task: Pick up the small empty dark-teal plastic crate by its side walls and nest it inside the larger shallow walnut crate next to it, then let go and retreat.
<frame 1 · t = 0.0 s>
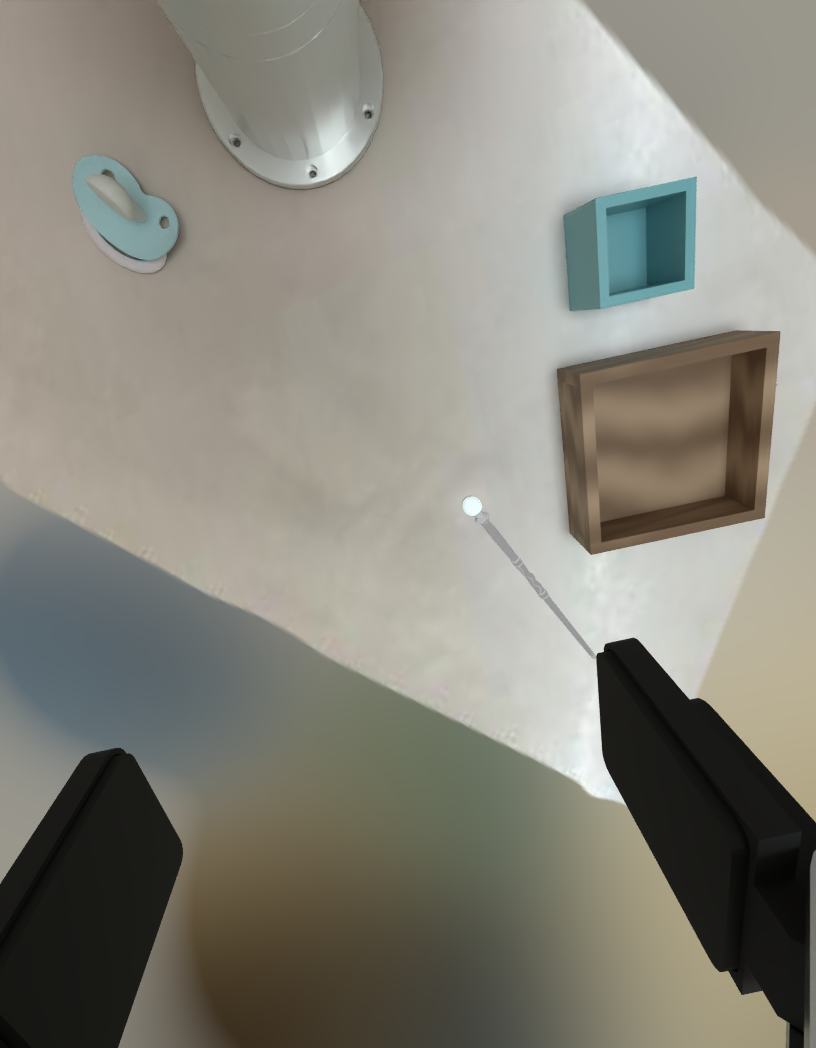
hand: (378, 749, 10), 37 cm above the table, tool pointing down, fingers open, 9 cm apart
small crate: (608, 255, 41), on the table
magic wand: (534, 581, 52), on the table
big crate: (647, 438, 47), on the table
pacifier: (134, 225, 38), on the table
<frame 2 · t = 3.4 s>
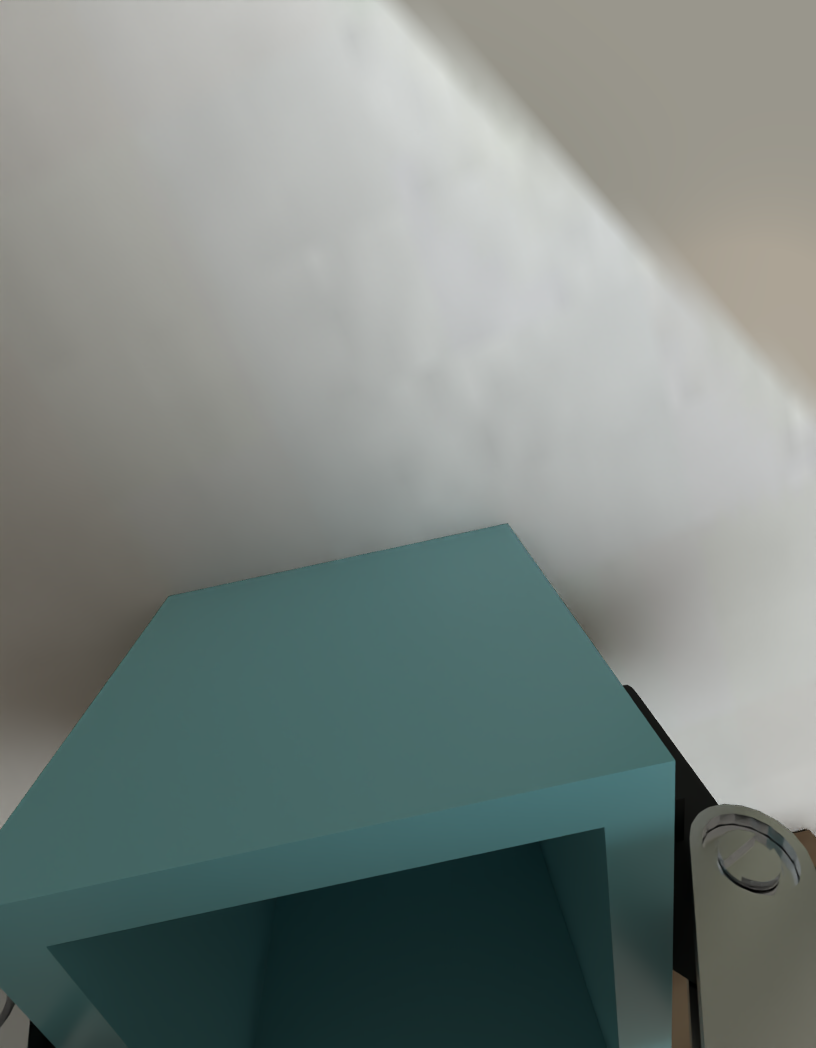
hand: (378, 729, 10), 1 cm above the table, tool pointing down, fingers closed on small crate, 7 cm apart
small crate: (376, 690, 11), on the table, touching gripper
big crate: (559, 1030, 17), on the table
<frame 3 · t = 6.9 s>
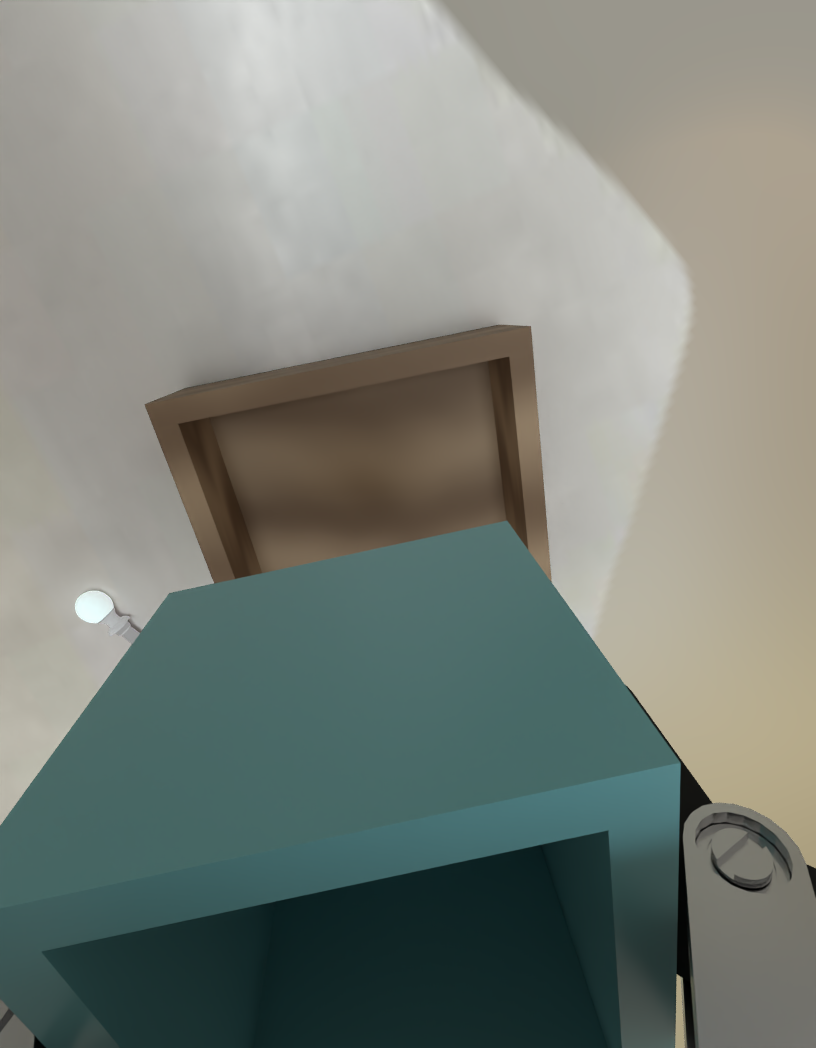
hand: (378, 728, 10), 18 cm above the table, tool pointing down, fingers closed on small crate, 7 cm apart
small crate: (376, 690, 11), point 17 cm above the table, touching gripper
magic wand: (244, 710, 33), on the table
big crate: (375, 503, 28), on the table
when the fingers open (3 cm above the table, at t = 10.4 s): small crate drops 1 cm, resting on big crate.
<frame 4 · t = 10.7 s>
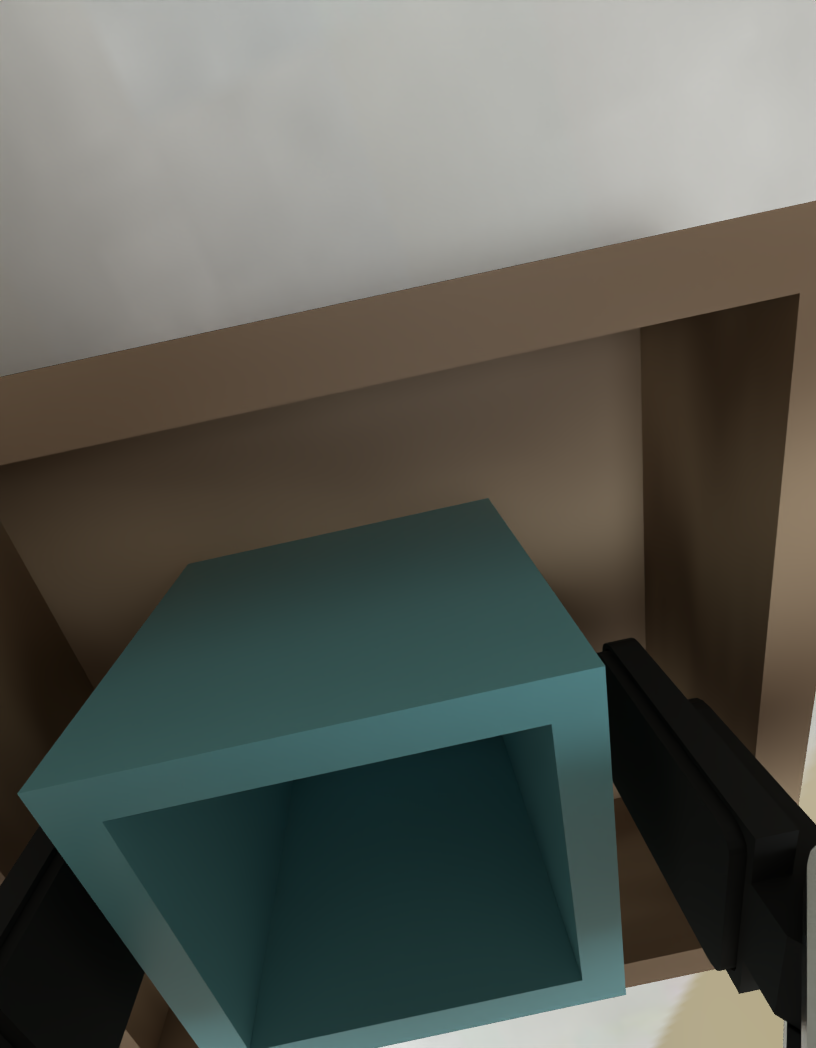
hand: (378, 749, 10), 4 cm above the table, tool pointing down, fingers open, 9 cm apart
small crate: (372, 654, 13), point 1 cm above the table, touching big crate
big crate: (375, 633, 14), on the table
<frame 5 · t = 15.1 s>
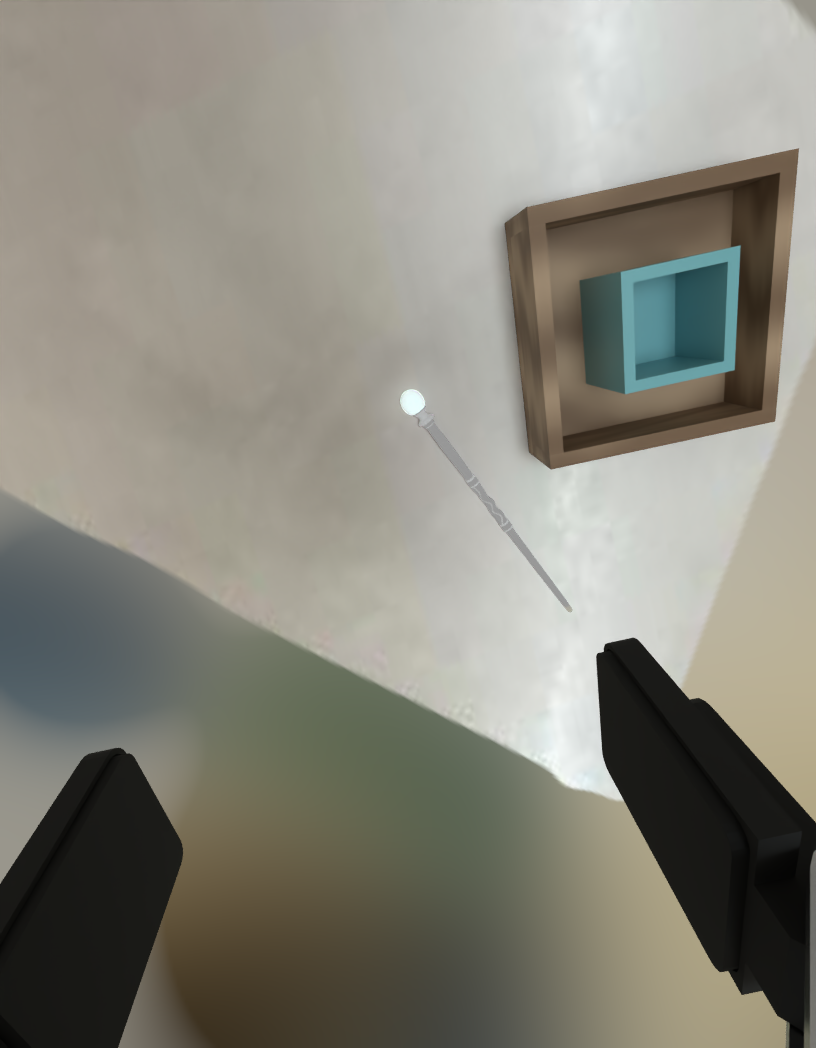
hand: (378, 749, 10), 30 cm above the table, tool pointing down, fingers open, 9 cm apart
small crate: (631, 323, 35), point 1 cm above the table, touching big crate
magic wand: (494, 510, 42), on the table
big crate: (625, 324, 36), on the table
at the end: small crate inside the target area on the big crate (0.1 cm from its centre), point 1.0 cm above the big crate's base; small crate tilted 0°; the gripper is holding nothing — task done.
